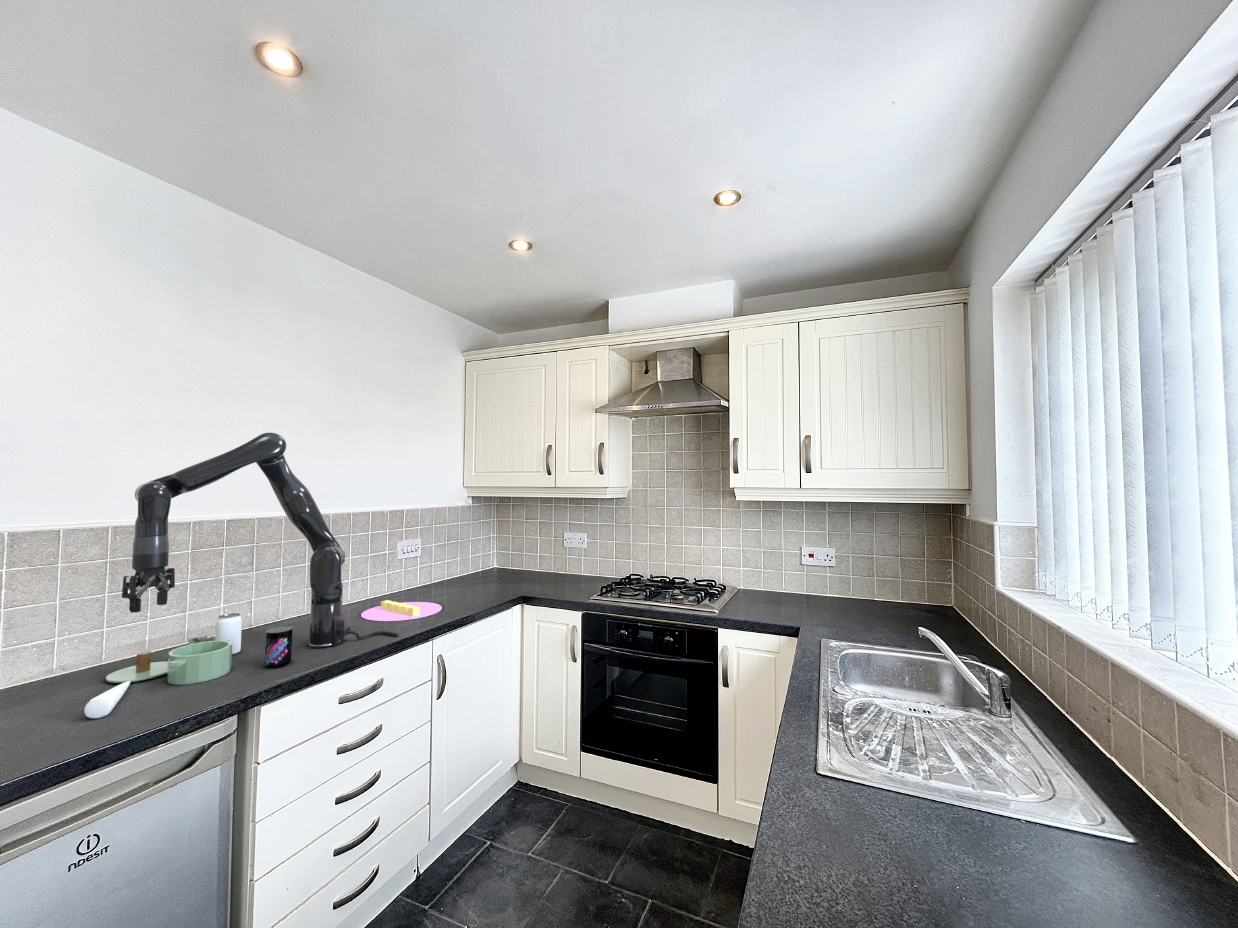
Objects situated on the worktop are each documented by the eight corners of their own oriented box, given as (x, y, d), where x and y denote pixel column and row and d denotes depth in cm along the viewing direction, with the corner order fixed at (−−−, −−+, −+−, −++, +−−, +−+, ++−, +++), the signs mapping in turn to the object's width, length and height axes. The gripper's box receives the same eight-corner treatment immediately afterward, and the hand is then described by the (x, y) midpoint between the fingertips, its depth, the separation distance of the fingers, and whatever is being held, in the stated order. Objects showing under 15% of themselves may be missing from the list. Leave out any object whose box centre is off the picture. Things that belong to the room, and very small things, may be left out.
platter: (389, 625, 187) (390, 616, 187) (344, 613, 204) (345, 605, 204) (457, 608, 214) (458, 600, 214) (413, 598, 231) (413, 591, 231)
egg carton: (223, 650, 158) (223, 637, 159) (192, 656, 153) (193, 643, 153) (215, 643, 165) (216, 630, 165) (186, 648, 160) (186, 636, 160)
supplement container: (258, 667, 144) (259, 631, 144) (280, 659, 150) (281, 625, 151) (275, 669, 142) (277, 633, 143) (296, 661, 149) (298, 627, 149)
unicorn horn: (148, 680, 134) (149, 662, 134) (111, 717, 113) (112, 696, 113) (124, 683, 131) (125, 665, 132) (82, 721, 111) (83, 700, 111)
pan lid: (190, 664, 146) (191, 643, 146) (147, 684, 131) (148, 661, 131) (139, 665, 145) (140, 644, 145) (89, 685, 130) (90, 662, 130)
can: (226, 657, 152) (227, 618, 152) (209, 655, 153) (210, 617, 154) (245, 650, 158) (247, 613, 159) (229, 649, 159) (230, 612, 160)
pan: (248, 662, 148) (249, 637, 148) (198, 688, 129) (200, 659, 129) (200, 663, 147) (202, 637, 147) (144, 689, 128) (145, 660, 128)
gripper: (142, 554, 133) (140, 614, 132) (185, 547, 147) (183, 602, 146) (113, 555, 132) (110, 615, 132) (158, 548, 146) (156, 602, 146)
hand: (149, 608), depth 139 cm, fingers open, 8 cm apart
